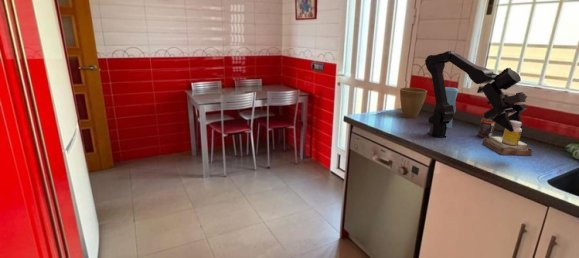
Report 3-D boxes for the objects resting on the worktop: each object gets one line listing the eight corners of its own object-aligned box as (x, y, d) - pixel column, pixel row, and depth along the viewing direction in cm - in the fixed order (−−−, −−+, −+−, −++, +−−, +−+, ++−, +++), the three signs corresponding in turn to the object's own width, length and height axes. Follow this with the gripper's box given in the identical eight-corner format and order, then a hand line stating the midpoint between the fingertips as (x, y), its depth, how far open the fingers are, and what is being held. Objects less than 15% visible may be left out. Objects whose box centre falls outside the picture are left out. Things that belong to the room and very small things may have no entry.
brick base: (500, 154, 133) (503, 145, 132) (482, 143, 145) (484, 135, 144) (531, 155, 133) (533, 146, 132) (510, 144, 146) (512, 136, 144)
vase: (434, 122, 177) (440, 86, 171) (449, 123, 175) (456, 88, 169) (436, 126, 170) (442, 89, 164) (452, 127, 168) (459, 90, 161)
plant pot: (426, 116, 189) (430, 89, 185) (418, 121, 178) (422, 93, 173) (401, 111, 198) (405, 86, 193) (392, 116, 187) (396, 89, 182)
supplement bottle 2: (517, 149, 121) (524, 124, 118) (501, 145, 124) (507, 122, 121) (516, 144, 126) (523, 121, 123) (500, 142, 128) (506, 118, 125)
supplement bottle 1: (493, 139, 152) (499, 116, 149) (480, 137, 153) (485, 115, 150) (489, 135, 158) (494, 113, 154) (476, 134, 159) (480, 112, 155)
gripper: (498, 86, 117) (522, 123, 111) (527, 83, 125) (551, 118, 119) (474, 102, 126) (495, 137, 120) (502, 98, 134) (523, 131, 128)
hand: (517, 130), depth 122 cm, fingers closed on supplement bottle 2, 5 cm apart
